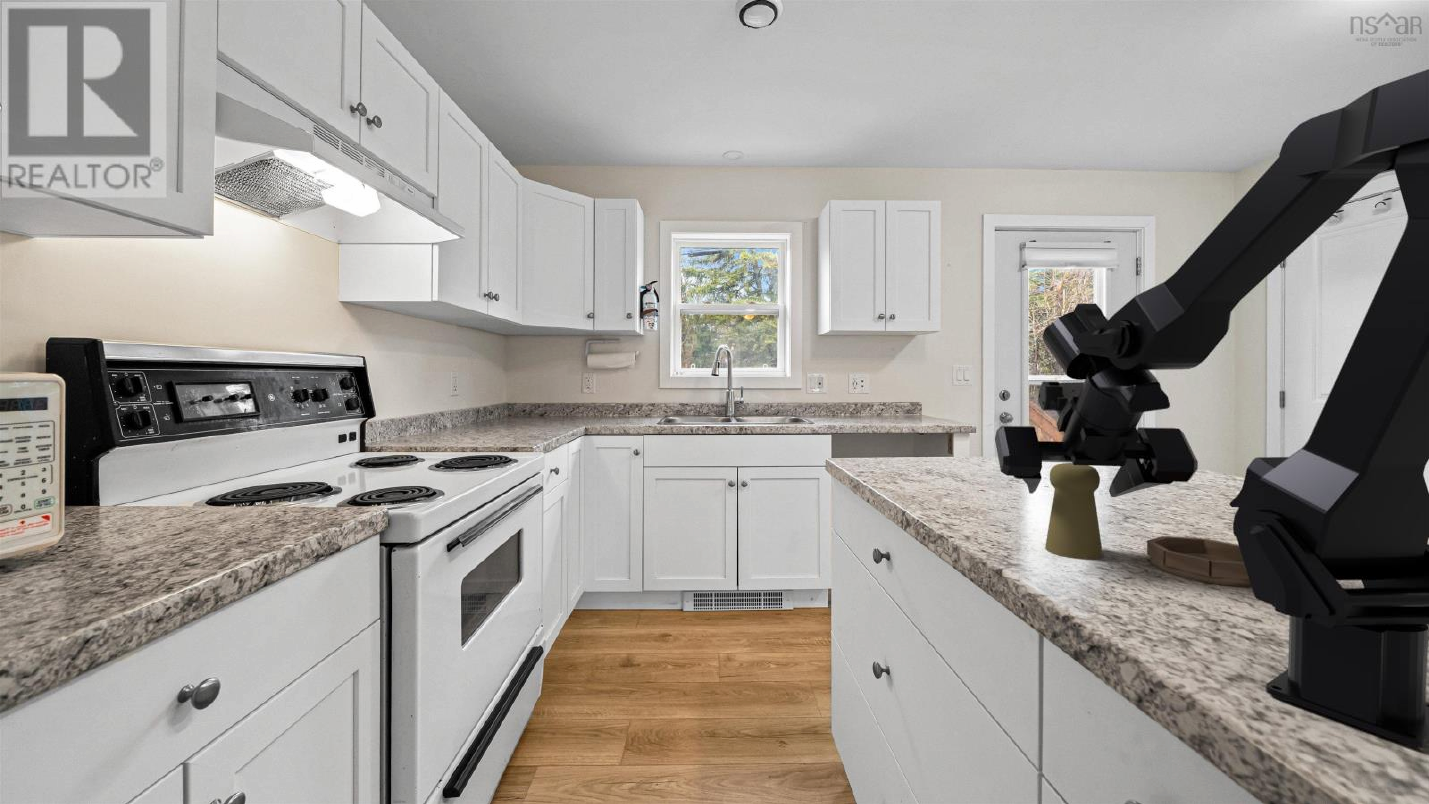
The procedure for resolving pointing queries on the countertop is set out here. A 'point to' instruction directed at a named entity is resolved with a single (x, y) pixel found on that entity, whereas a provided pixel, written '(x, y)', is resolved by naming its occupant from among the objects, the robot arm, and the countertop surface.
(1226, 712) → the countertop surface
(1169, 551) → the walnut coaster
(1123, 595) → the countertop surface
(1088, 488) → the cork
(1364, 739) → the countertop surface
